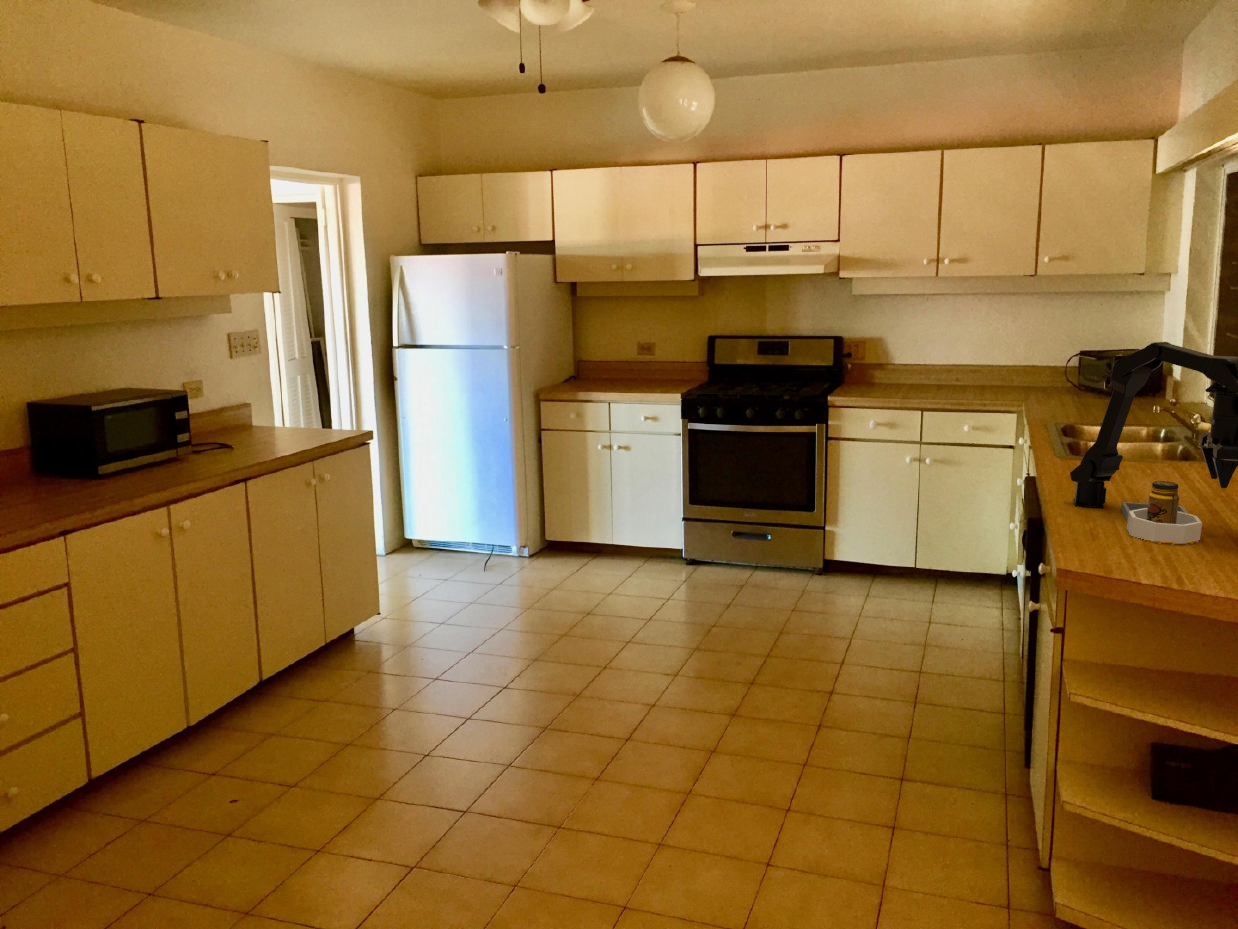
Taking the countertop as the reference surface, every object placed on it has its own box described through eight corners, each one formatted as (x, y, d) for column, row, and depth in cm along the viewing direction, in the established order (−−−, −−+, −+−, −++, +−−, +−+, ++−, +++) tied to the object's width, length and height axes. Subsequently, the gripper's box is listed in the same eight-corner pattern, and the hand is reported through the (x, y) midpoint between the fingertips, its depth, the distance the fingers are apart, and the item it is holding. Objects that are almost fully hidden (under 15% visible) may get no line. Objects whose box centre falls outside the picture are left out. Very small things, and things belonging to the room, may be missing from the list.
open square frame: (1128, 523, 234) (1129, 515, 234) (1120, 509, 247) (1121, 502, 246) (1193, 528, 230) (1194, 520, 230) (1181, 513, 243) (1182, 506, 242)
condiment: (1138, 533, 225) (1144, 483, 223) (1150, 526, 231) (1156, 476, 228) (1173, 540, 220) (1179, 488, 218) (1184, 532, 226) (1191, 481, 223)
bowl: (1133, 541, 221) (1135, 522, 220) (1124, 524, 234) (1126, 506, 233) (1203, 546, 216) (1206, 527, 215) (1190, 529, 229) (1192, 511, 228)
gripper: (1282, 423, 204) (1272, 495, 208) (1258, 409, 221) (1249, 476, 225) (1221, 421, 208) (1212, 492, 211) (1202, 407, 225) (1194, 473, 228)
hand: (1218, 483), depth 219 cm, fingers open, 9 cm apart
